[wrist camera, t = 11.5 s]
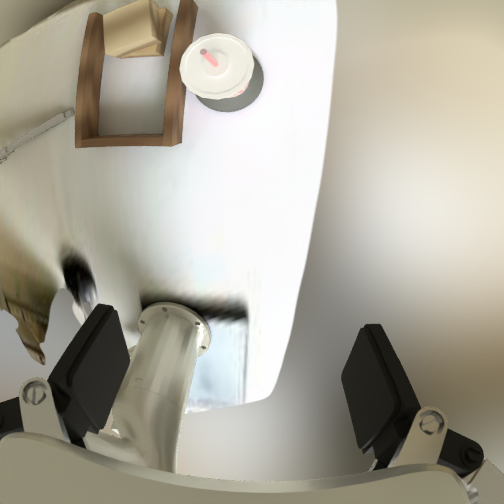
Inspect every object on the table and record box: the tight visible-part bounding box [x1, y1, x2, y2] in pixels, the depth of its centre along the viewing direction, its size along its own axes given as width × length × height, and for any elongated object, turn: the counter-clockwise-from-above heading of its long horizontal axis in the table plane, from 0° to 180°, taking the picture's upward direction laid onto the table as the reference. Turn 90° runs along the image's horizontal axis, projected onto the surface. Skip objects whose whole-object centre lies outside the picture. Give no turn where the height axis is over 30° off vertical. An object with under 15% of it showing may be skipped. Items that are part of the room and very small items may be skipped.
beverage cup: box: [179, 33, 254, 99], centre depth 20 cm, size 6×6×14 cm
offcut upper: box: [103, 0, 162, 58], centre depth 20 cm, size 6×6×3 cm
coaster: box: [196, 57, 263, 112], centre depth 26 cm, size 8×8×1 cm
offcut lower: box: [119, 8, 173, 58], centre depth 23 cm, size 6×6×3 cm
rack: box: [75, 0, 198, 148], centre depth 24 cm, size 18×13×4 cm
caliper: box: [0, 108, 74, 164], centre depth 26 cm, size 20×1×6 cm, turn 101°
